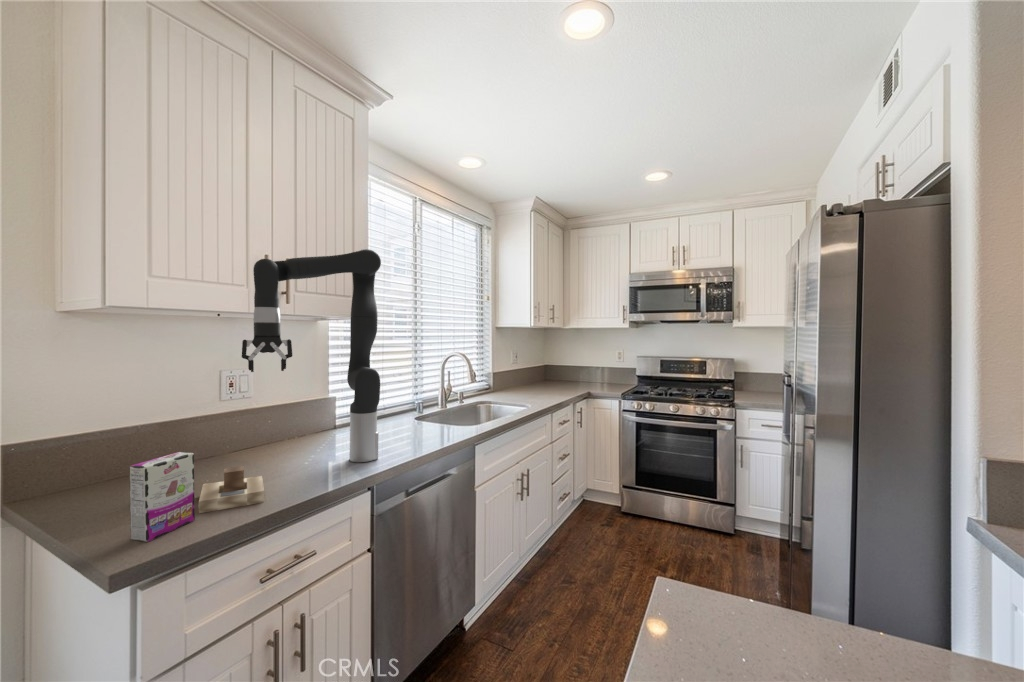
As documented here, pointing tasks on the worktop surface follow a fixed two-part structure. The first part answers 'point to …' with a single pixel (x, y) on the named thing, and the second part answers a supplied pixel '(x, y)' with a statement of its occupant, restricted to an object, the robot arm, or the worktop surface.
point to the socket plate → (231, 495)
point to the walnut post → (233, 479)
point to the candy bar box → (161, 495)
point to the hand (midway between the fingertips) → (267, 371)
